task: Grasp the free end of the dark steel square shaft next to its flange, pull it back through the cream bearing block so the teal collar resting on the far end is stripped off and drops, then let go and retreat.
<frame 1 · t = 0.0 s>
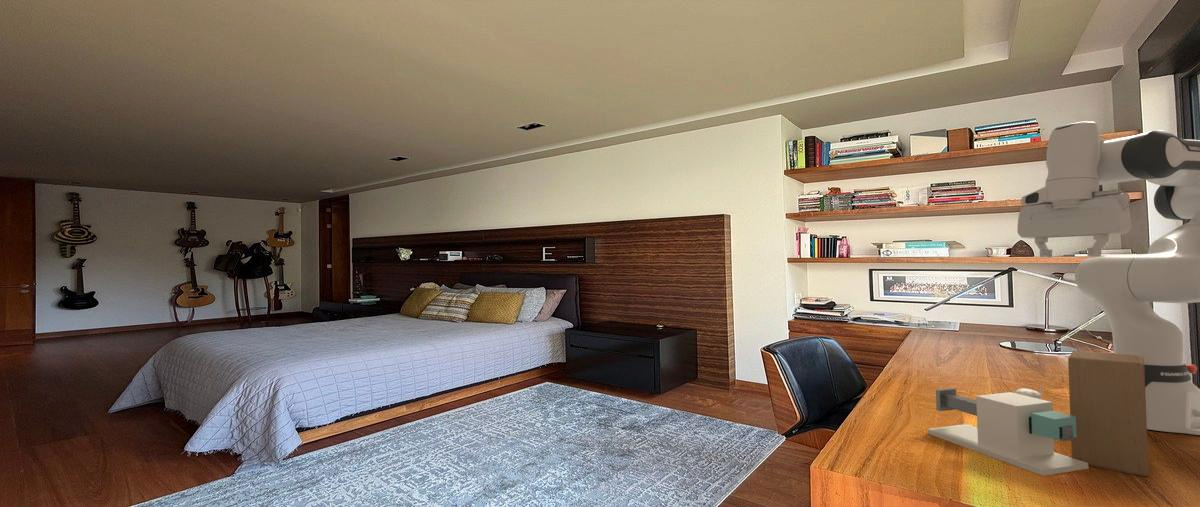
hand: (1068, 256, 114), 39 cm above the table, tool pointing down, fingers open, 8 cm apart
wooden block: (1109, 463, 97), on the table
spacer: (1053, 423, 95), point 8 cm above the table, touching shaft
bearing block: (1015, 454, 102), on the table
shaft: (998, 414, 105), point 7 cm above the table, slide at 0.0 cm, touching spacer
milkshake: (1031, 430, 116), on the table
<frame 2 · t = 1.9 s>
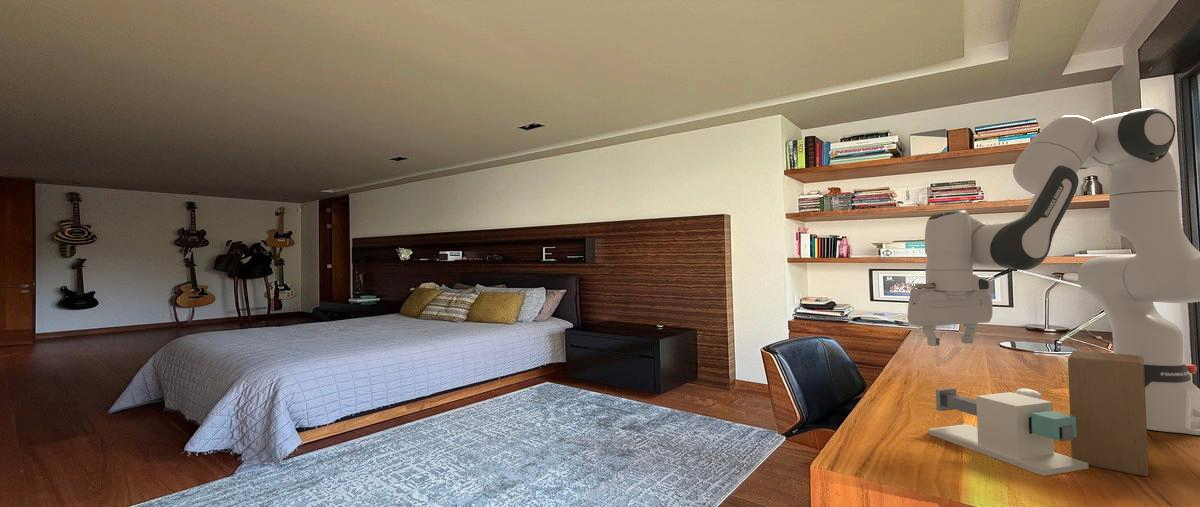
hand: (950, 344, 115), 20 cm above the table, tool pointing down, fingers open, 8 cm apart
nothing on the table moved.
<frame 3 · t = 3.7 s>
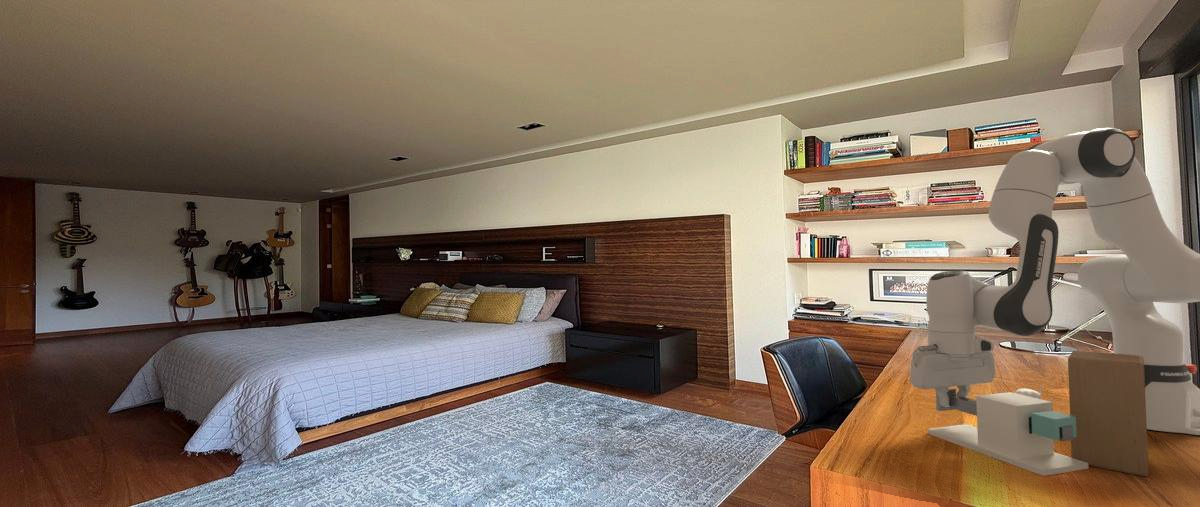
hand: (953, 405, 115), 6 cm above the table, tool pointing down, fingers closed on shaft, 2 cm apart
shaft: (998, 414, 105), point 7 cm above the table, slide at 0.0 cm, touching gripper, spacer
everything else where it was.
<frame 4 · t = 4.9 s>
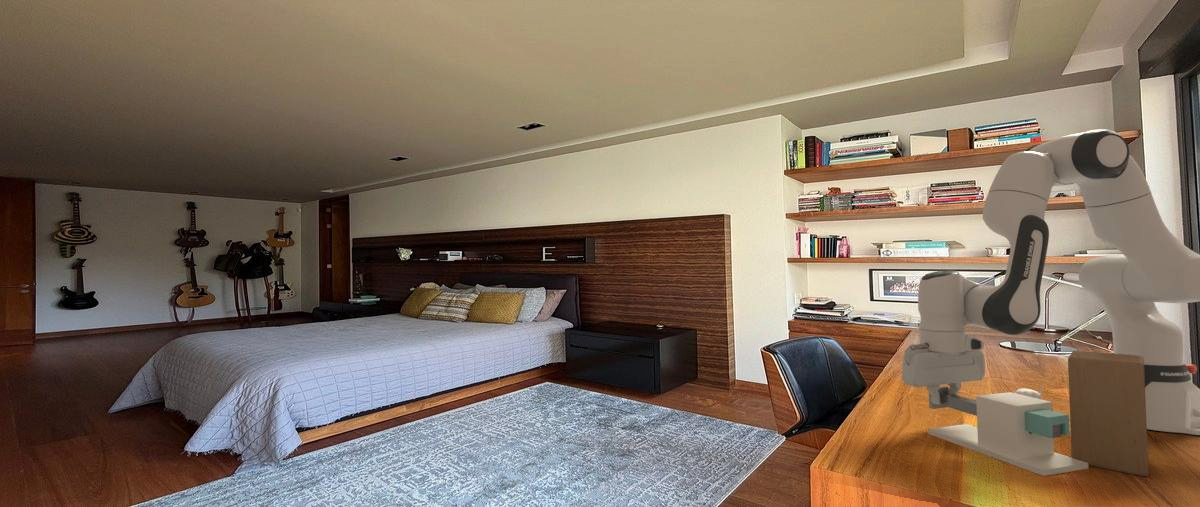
hand: (944, 402, 117), 6 cm above the table, tool pointing down, fingers closed on shaft, 3 cm apart
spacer: (1046, 421, 96), point 8 cm above the table
shaft: (989, 411, 107), point 7 cm above the table, slide at 1.9 cm, touching gripper
everything else where it was.
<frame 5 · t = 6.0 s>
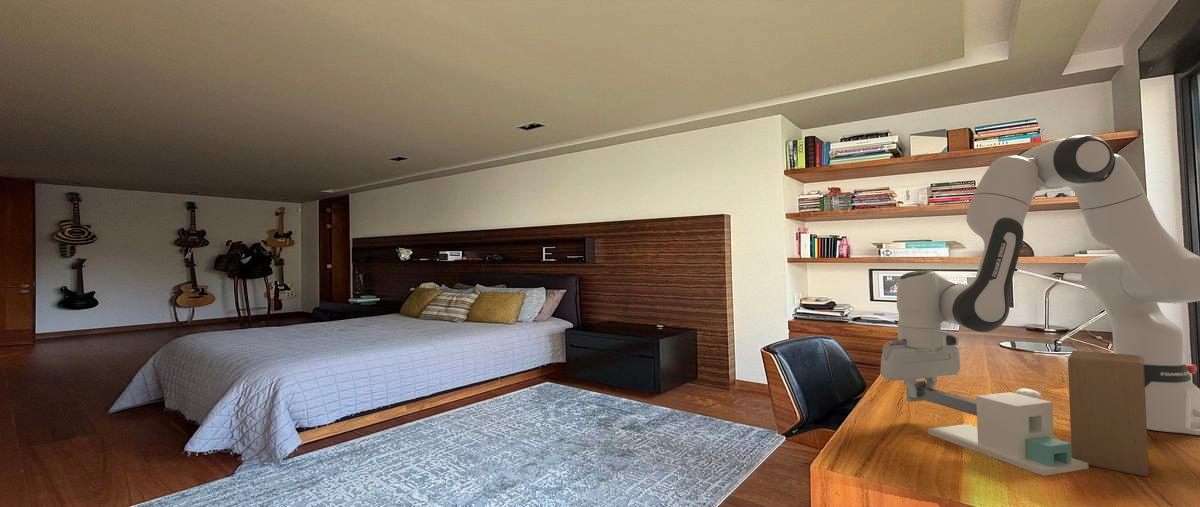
hand: (921, 396, 123), 6 cm above the table, tool pointing down, fingers closed on shaft, 2 cm apart
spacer: (1048, 449, 96), point 3 cm above the table, touching bearing block
shaft: (962, 403, 113), point 7 cm above the table, slide at 8.1 cm, touching gripper
everything else where it was.
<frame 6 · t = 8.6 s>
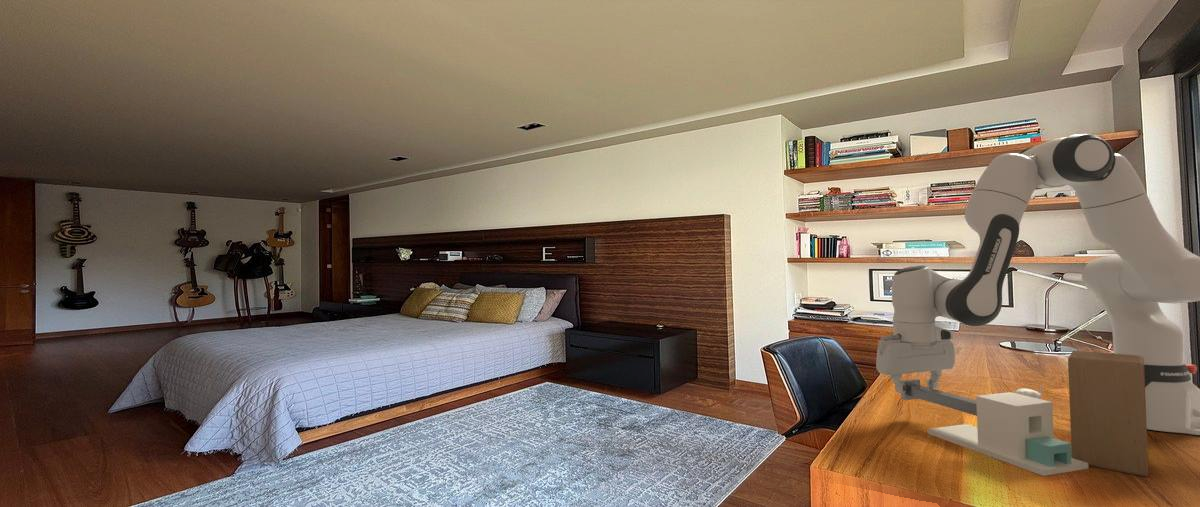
hand: (916, 390, 125), 7 cm above the table, tool pointing down, fingers open, 8 cm apart
shaft: (955, 402, 115), point 7 cm above the table, slide at 9.7 cm
everything else where it was.
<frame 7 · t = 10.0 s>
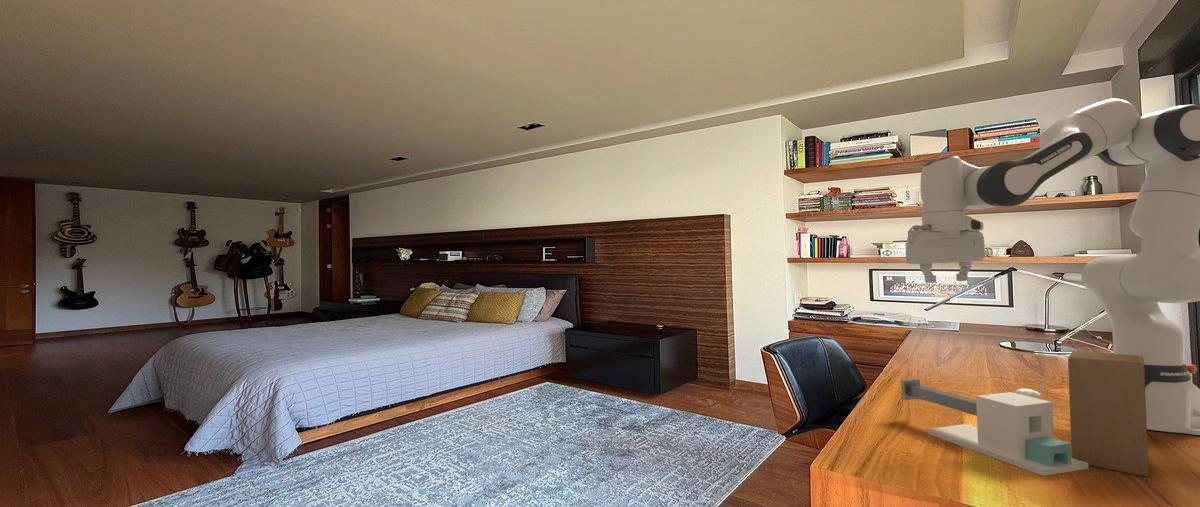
hand: (946, 281, 124), 33 cm above the table, tool pointing down, fingers open, 8 cm apart
nothing on the table moved.
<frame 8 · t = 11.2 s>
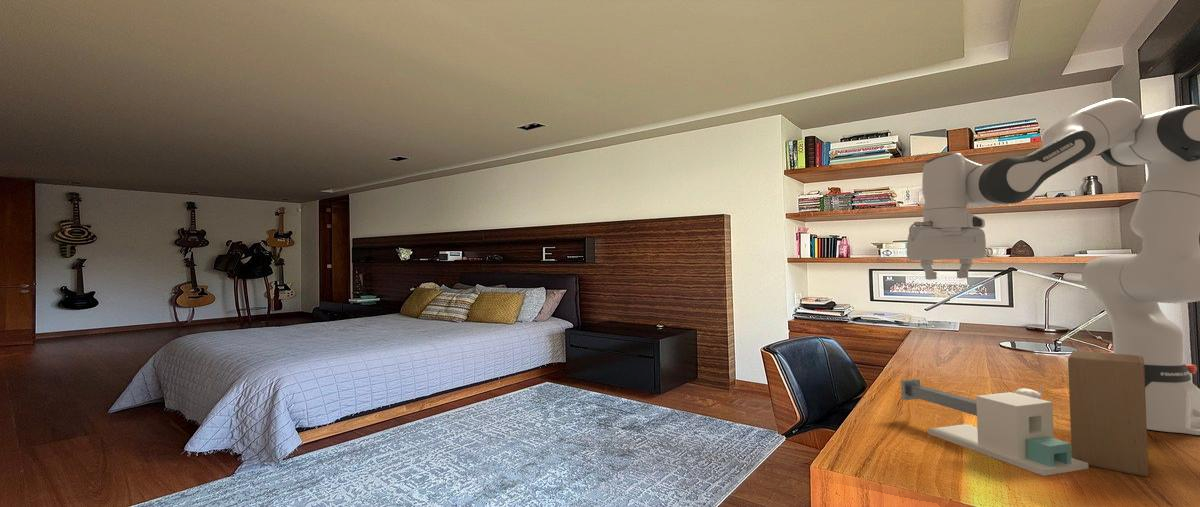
hand: (947, 278, 124), 34 cm above the table, tool pointing down, fingers open, 8 cm apart
nothing on the table moved.
at the end: shaft slide at 9.7 cm; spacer point 3.2 cm above the table; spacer inside the target area (1.7 cm from its centre), point 3.2 cm above the table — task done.
